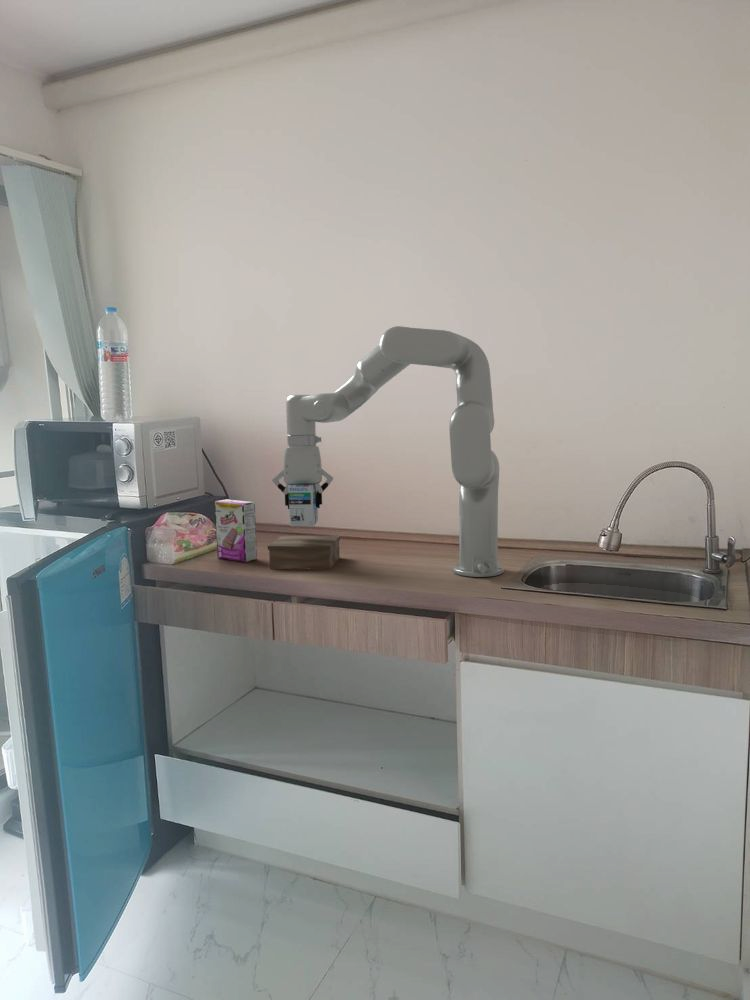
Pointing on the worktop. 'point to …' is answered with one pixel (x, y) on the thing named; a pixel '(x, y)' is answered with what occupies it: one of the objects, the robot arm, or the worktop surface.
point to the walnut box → (304, 552)
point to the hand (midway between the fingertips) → (303, 507)
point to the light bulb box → (303, 505)
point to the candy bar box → (236, 530)
